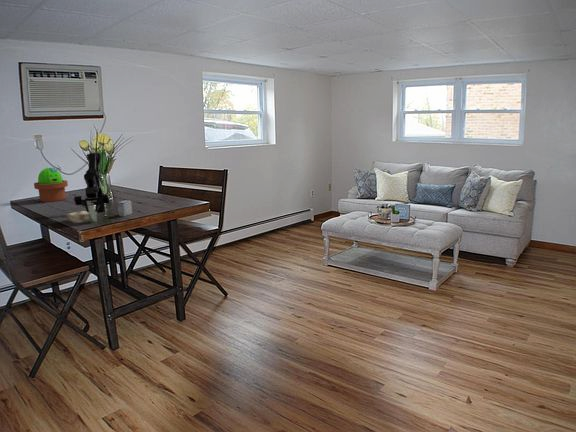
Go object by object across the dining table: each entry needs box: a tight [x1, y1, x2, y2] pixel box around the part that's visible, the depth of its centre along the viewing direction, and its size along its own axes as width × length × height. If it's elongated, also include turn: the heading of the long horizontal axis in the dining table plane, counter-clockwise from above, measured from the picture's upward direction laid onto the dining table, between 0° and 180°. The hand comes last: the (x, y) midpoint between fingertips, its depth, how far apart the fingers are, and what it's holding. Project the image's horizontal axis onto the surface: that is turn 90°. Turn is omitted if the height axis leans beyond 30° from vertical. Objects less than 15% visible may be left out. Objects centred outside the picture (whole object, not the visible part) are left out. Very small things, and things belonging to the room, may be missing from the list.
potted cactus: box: [33, 167, 69, 203], centre depth 329 cm, size 22×22×25 cm
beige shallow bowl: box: [66, 210, 89, 224], centre depth 264 cm, size 11×11×4 cm
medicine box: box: [117, 199, 133, 217], centre depth 274 cm, size 8×4×9 cm, turn 163°
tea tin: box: [87, 204, 99, 224], centre depth 257 cm, size 5×5×10 cm
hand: (92, 211), depth 256 cm, fingers closed on tea tin, 4 cm apart
